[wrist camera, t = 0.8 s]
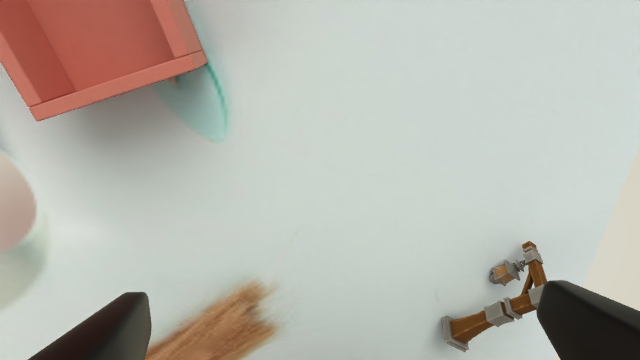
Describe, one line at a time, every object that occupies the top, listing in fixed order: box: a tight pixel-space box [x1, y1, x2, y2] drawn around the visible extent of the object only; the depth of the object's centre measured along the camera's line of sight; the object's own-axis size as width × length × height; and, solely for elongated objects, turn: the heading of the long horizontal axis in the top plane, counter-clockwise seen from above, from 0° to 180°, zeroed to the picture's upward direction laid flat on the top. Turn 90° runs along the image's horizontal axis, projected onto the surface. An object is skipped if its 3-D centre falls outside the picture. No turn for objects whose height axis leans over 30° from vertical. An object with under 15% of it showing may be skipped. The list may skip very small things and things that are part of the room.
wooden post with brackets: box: [442, 241, 547, 352], centre depth 24 cm, size 2×8×4 cm, turn 146°
